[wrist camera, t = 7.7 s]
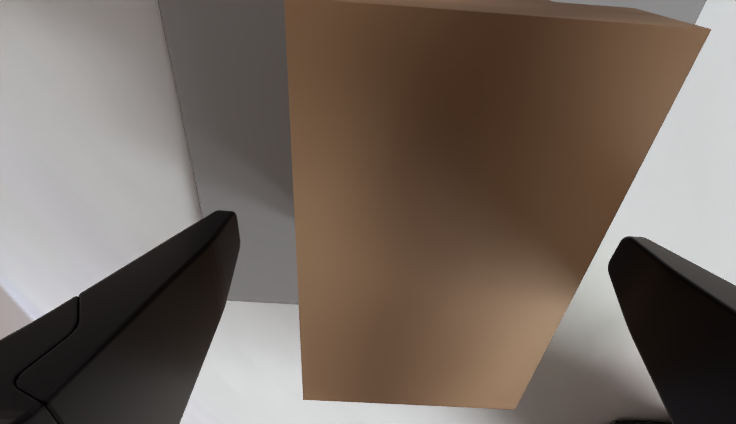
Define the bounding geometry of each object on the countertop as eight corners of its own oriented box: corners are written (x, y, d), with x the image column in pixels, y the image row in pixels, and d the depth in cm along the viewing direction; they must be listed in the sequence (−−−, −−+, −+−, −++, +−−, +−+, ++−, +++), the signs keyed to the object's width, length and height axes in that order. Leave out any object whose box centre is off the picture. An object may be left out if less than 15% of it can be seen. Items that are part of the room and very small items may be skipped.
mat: (544, 309, 20) (549, 318, 20) (223, 290, 20) (219, 300, 19) (782, -192, 10) (804, -198, 9) (116, -258, 9) (102, -268, 9)
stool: (540, -19, 11) (711, 28, 6) (467, 249, 17) (515, 409, 11) (329, -35, 11) (283, -4, 5) (326, 241, 17) (303, 399, 11)
